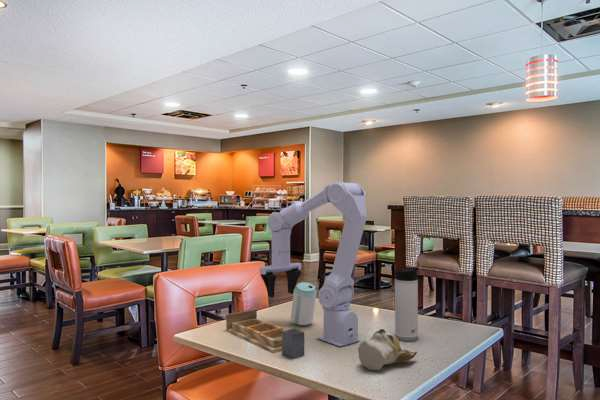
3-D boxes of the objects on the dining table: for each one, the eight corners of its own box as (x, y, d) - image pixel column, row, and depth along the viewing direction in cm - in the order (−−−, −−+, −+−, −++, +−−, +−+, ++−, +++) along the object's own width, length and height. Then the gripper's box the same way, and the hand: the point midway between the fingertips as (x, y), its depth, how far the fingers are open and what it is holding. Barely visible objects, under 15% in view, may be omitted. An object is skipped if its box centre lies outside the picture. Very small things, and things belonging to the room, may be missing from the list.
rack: (303, 344, 117) (303, 326, 117) (273, 353, 110) (273, 333, 110) (254, 324, 135) (254, 308, 135) (226, 331, 129) (226, 314, 129)
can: (298, 312, 141) (302, 278, 138) (316, 320, 137) (321, 286, 134) (286, 321, 135) (290, 286, 132) (305, 329, 132) (309, 294, 128)
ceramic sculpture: (346, 328, 102) (383, 320, 112) (344, 365, 102) (382, 353, 112) (383, 339, 94) (420, 329, 105) (382, 379, 94) (418, 365, 104)
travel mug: (419, 342, 118) (419, 269, 118) (395, 341, 119) (395, 268, 119) (418, 335, 124) (418, 266, 124) (394, 334, 126) (394, 265, 126)
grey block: (304, 355, 109) (304, 332, 109) (291, 359, 106) (291, 335, 106) (294, 351, 112) (294, 328, 112) (282, 355, 109) (282, 331, 109)
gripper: (291, 248, 141) (291, 289, 141) (254, 251, 132) (254, 296, 132) (305, 250, 136) (305, 293, 136) (267, 253, 127) (267, 300, 127)
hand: (281, 295), depth 134 cm, fingers open, 7 cm apart
